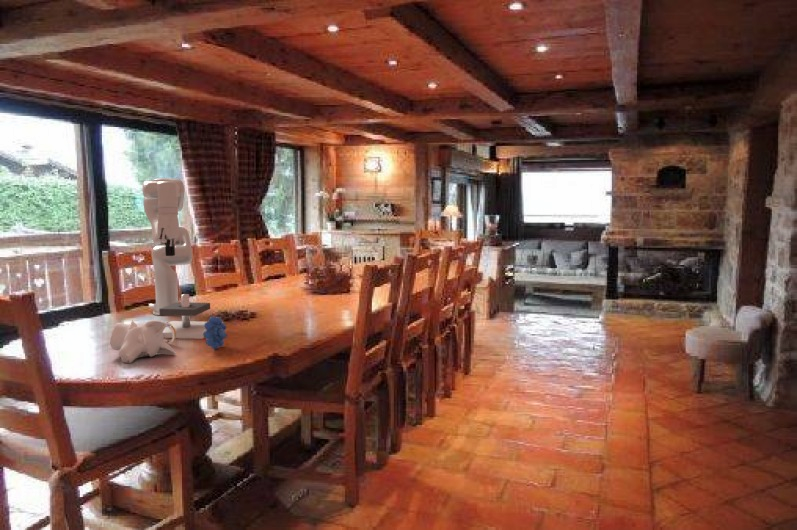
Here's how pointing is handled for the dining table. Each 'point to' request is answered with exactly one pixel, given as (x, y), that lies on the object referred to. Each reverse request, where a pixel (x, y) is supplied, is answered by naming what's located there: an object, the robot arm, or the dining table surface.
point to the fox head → (139, 340)
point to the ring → (172, 333)
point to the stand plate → (186, 330)
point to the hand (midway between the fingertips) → (170, 255)
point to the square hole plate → (184, 309)
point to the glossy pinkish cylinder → (185, 304)
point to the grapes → (215, 332)
